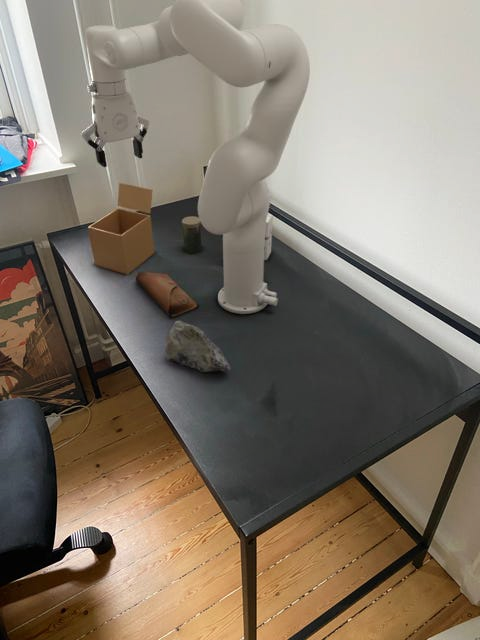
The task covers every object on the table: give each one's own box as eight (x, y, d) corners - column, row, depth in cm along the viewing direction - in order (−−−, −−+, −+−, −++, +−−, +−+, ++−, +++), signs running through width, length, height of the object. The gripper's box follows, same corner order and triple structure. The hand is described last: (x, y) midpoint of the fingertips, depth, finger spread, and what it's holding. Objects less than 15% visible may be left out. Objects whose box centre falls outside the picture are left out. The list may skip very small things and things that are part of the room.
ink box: (237, 256, 144) (236, 217, 137) (242, 248, 148) (242, 209, 141) (267, 261, 142) (268, 221, 135) (271, 252, 146) (273, 214, 139)
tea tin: (204, 247, 149) (203, 218, 143) (196, 255, 145) (194, 225, 140) (190, 243, 150) (188, 214, 145) (180, 251, 147) (178, 222, 141)
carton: (123, 244, 150) (117, 207, 143) (154, 252, 146) (150, 215, 139) (95, 264, 141) (87, 227, 134) (127, 274, 137) (121, 236, 130)
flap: (117, 205, 142) (118, 205, 143) (149, 213, 139) (150, 213, 139) (119, 182, 140) (119, 182, 141) (152, 189, 137) (152, 189, 137)
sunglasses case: (200, 304, 125) (186, 289, 120) (179, 325, 124) (164, 311, 119) (164, 272, 137) (150, 257, 132) (145, 291, 136) (130, 276, 131)
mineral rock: (233, 377, 106) (233, 339, 100) (184, 393, 102) (180, 355, 96) (208, 340, 115) (206, 304, 109) (162, 355, 111) (157, 317, 105)
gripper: (81, 97, 112) (95, 173, 123) (151, 85, 120) (158, 157, 131) (67, 90, 117) (82, 164, 127) (136, 79, 125) (144, 149, 136)
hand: (121, 161), depth 129 cm, fingers open, 9 cm apart
